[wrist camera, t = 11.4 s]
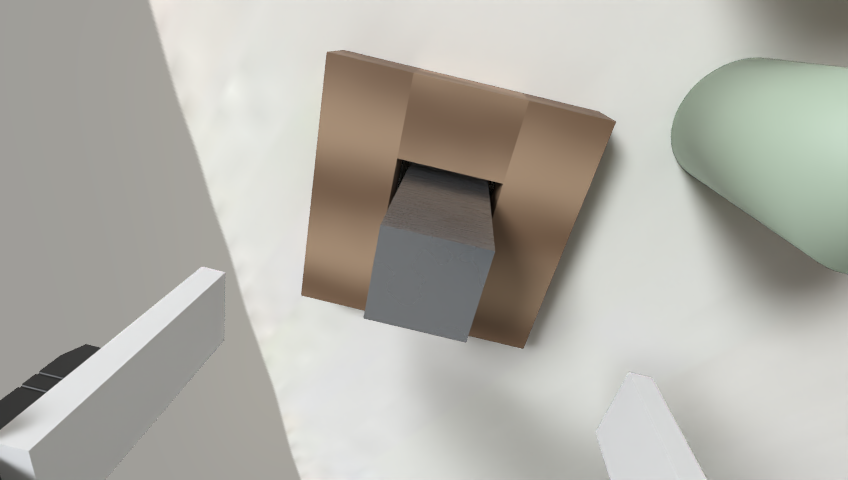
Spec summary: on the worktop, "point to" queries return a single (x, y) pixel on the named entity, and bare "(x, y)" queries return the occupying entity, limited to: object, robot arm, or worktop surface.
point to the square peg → (432, 253)
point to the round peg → (774, 148)
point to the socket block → (454, 151)
